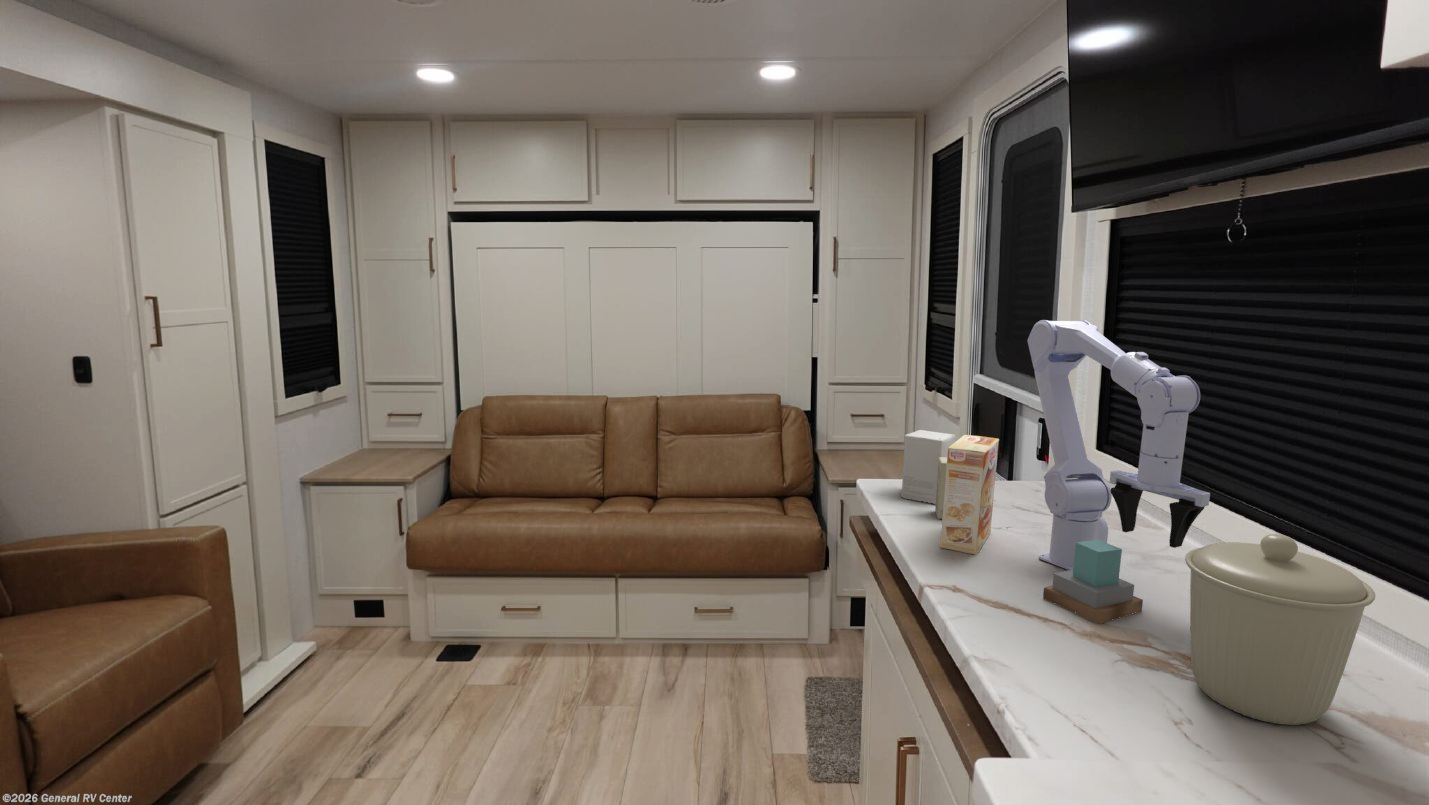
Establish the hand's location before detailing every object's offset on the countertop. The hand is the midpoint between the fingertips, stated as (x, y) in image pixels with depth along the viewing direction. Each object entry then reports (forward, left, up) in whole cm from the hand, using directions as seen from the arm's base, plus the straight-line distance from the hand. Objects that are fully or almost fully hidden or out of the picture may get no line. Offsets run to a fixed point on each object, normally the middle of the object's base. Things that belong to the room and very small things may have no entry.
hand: (1151, 538), depth 119 cm
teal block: (+9, -3, -6) cm, 11 cm away
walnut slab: (+9, -3, -11) cm, 15 cm away
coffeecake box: (+4, -33, -11) cm, 35 cm away
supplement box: (-10, -58, -11) cm, 60 cm away
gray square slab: (+9, -3, -9) cm, 13 cm away
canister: (+16, +24, -11) cm, 31 cm away
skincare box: (-4, -46, -11) cm, 47 cm away
